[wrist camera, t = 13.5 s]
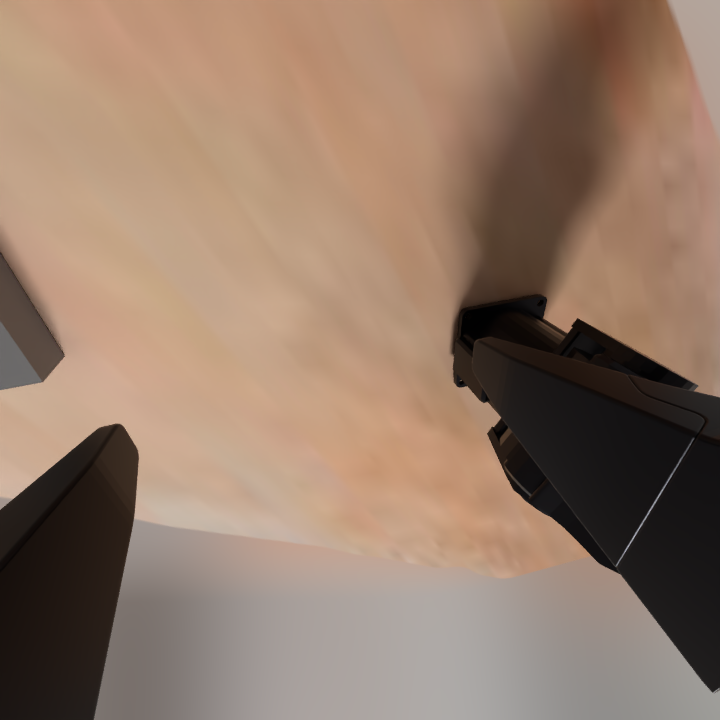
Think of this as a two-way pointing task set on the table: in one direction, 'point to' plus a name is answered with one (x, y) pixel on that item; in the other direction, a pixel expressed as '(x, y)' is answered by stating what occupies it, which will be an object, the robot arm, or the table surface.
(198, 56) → the table surface
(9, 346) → the square socket block
